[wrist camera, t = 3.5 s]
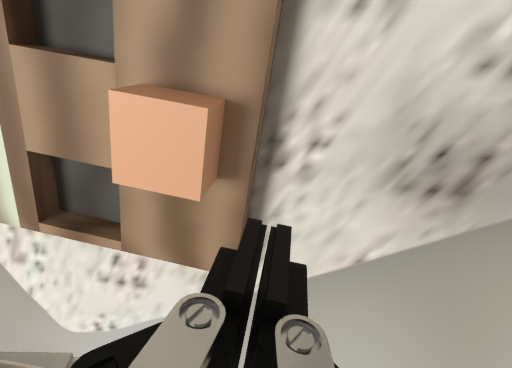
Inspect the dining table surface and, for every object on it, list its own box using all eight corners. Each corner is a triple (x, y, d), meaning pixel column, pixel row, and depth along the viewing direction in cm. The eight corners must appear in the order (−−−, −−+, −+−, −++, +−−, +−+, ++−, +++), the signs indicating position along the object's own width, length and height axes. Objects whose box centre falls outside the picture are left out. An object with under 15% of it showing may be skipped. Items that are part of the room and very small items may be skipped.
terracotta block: (225, 98, 21) (208, 108, 17) (216, 178, 23) (199, 201, 20) (142, 83, 21) (108, 89, 18) (142, 163, 24) (112, 182, 20)
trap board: (289, -42, 20) (287, -58, 17) (240, 256, 29) (233, 276, 27) (-83, -97, 22) (-139, -118, 19) (-13, 199, 31) (-43, 212, 29)
